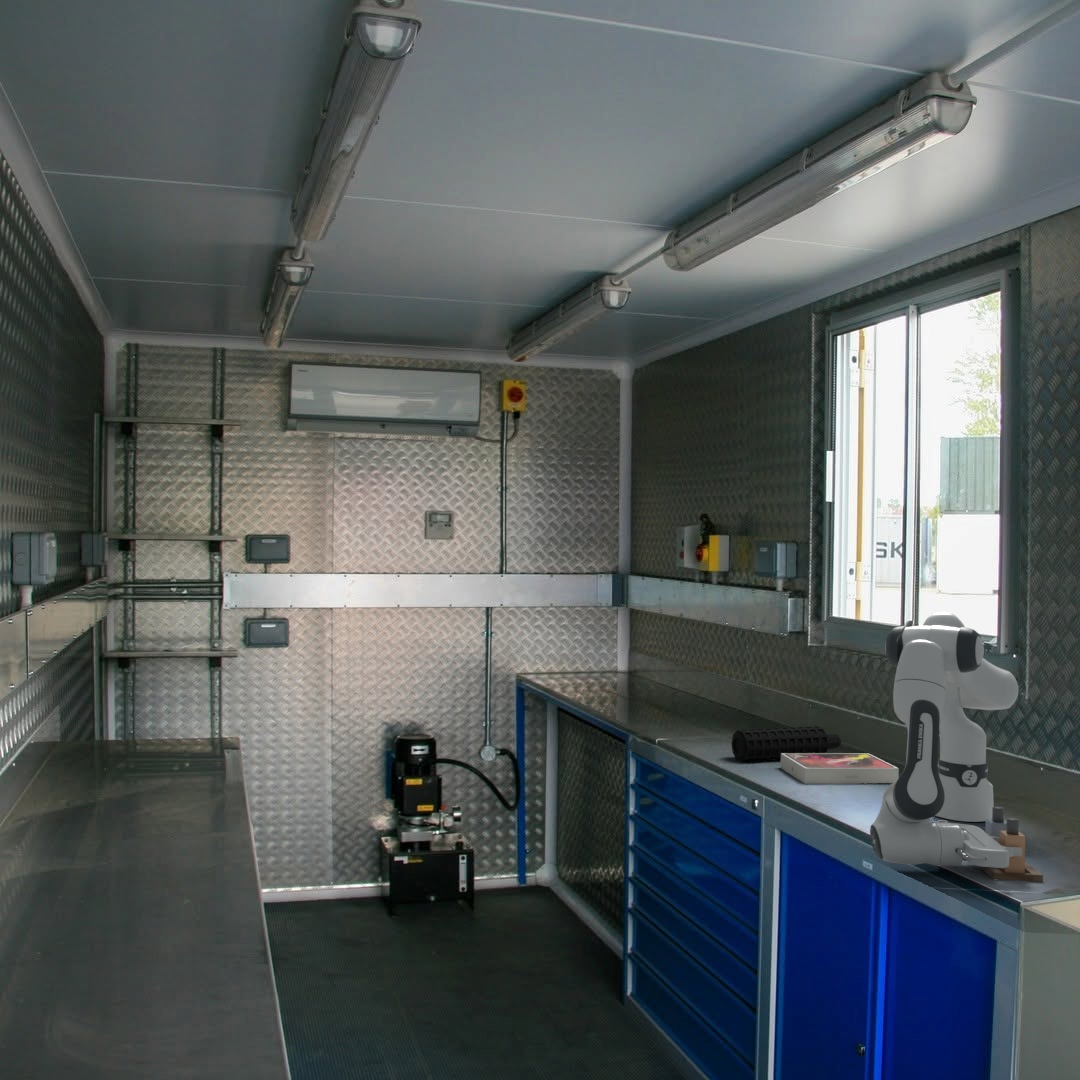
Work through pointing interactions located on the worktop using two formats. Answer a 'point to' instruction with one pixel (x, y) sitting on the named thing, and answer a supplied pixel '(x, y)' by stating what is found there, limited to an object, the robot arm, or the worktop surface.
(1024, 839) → the terracotta plug
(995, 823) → the slate plug
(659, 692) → the worktop surface
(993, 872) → the plug dock
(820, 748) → the roller
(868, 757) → the product packaging
